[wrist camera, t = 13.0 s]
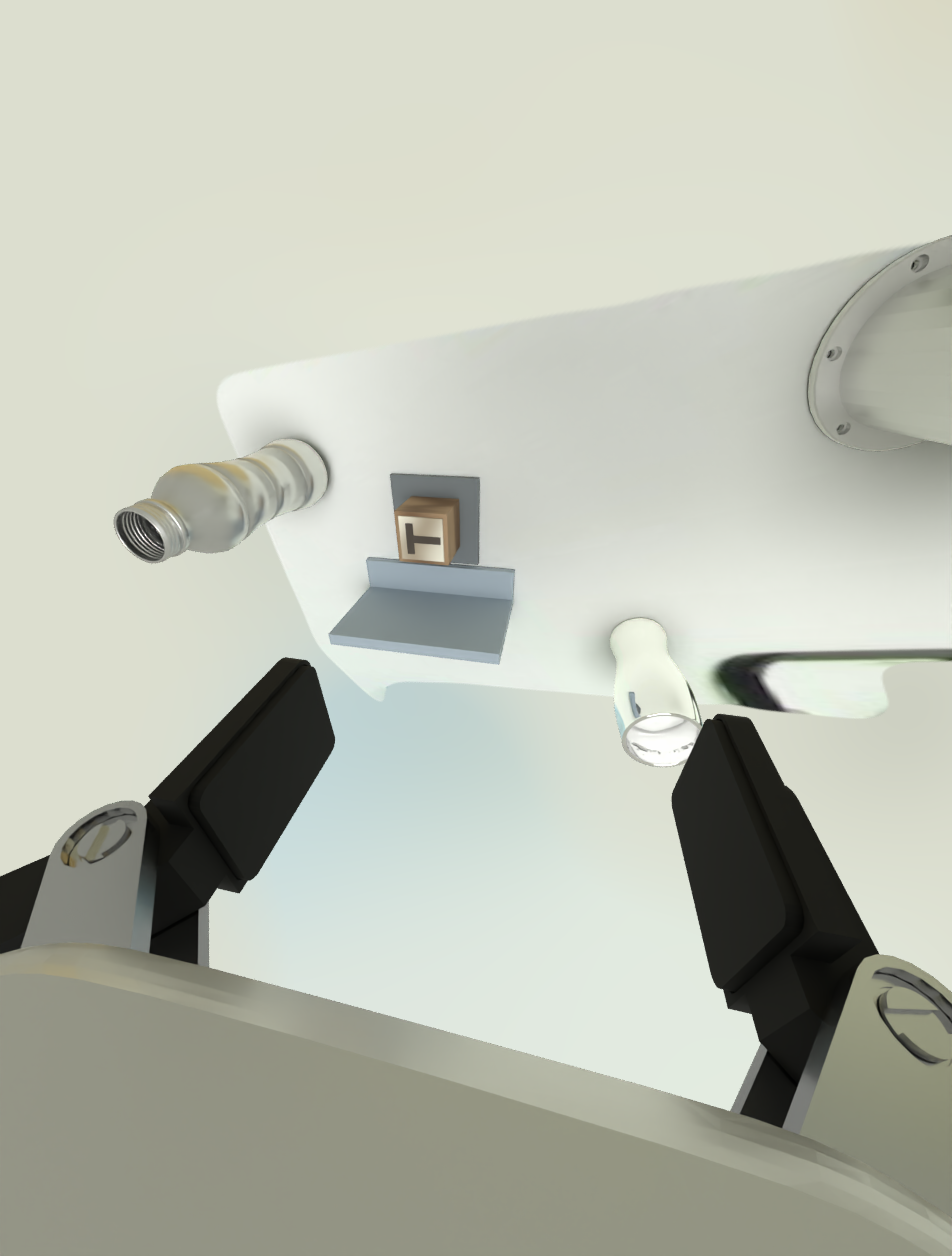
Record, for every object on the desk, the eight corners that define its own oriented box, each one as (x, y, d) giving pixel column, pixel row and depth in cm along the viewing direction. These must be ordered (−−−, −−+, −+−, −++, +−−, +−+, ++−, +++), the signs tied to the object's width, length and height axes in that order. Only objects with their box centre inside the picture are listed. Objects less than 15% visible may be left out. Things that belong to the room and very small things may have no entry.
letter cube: (459, 498, 40) (446, 515, 36) (460, 546, 43) (448, 566, 39) (411, 496, 41) (392, 512, 37) (415, 542, 44) (398, 562, 39)
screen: (514, 569, 44) (501, 623, 35) (512, 605, 46) (499, 664, 37) (368, 557, 46) (321, 604, 37) (374, 592, 49) (330, 644, 40)
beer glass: (615, 669, 49) (631, 773, 36) (597, 624, 46) (608, 721, 33) (676, 655, 46) (716, 762, 34) (662, 606, 43) (700, 703, 31)
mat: (479, 477, 39) (478, 479, 39) (478, 562, 44) (477, 564, 44) (392, 473, 41) (390, 474, 40) (401, 556, 46) (399, 558, 45)
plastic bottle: (273, 484, 44) (98, 557, 27) (282, 421, 40) (83, 463, 24) (328, 511, 44) (188, 599, 28) (341, 452, 40) (188, 515, 24)
